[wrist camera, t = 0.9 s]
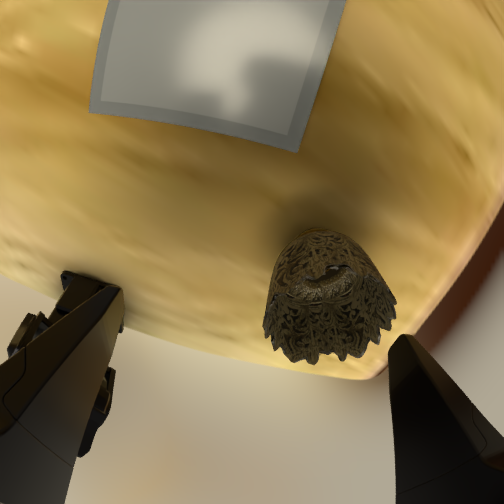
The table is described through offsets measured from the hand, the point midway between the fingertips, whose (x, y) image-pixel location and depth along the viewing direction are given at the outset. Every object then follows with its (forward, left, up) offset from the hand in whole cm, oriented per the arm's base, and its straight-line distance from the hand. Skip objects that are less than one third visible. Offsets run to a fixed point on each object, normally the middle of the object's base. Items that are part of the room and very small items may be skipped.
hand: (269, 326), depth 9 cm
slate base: (+9, +5, -13) cm, 16 cm away
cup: (-4, -5, -13) cm, 14 cm away
